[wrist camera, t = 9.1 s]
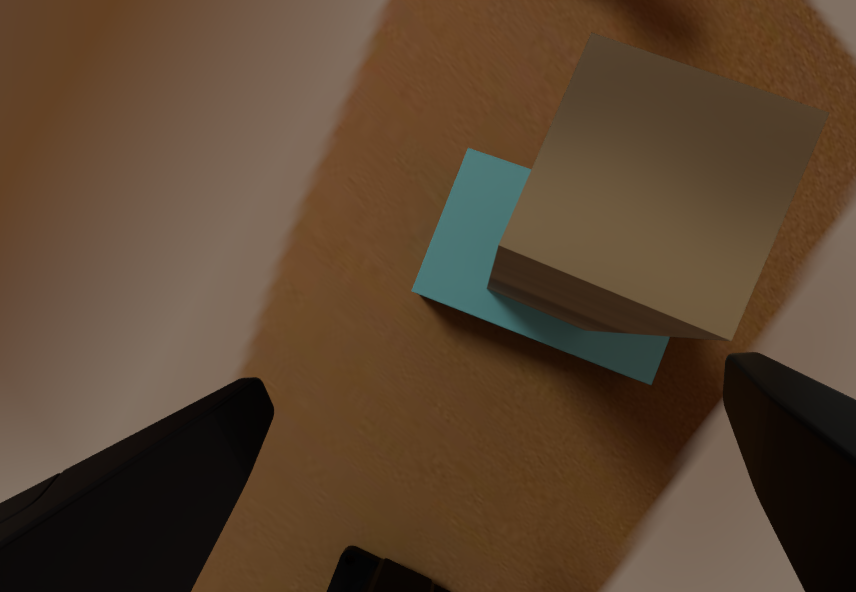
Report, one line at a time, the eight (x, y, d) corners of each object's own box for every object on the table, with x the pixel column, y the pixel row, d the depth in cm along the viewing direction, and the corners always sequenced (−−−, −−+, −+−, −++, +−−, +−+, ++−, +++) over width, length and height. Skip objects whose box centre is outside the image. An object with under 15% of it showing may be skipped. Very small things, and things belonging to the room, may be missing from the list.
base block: (631, 377, 21) (651, 384, 19) (418, 294, 22) (411, 290, 20) (683, 241, 21) (710, 230, 19) (469, 167, 23) (468, 147, 20)
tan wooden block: (585, 330, 19) (731, 341, 8) (486, 288, 20) (498, 245, 9) (627, 233, 19) (830, 112, 8) (527, 194, 20) (591, 32, 9)
